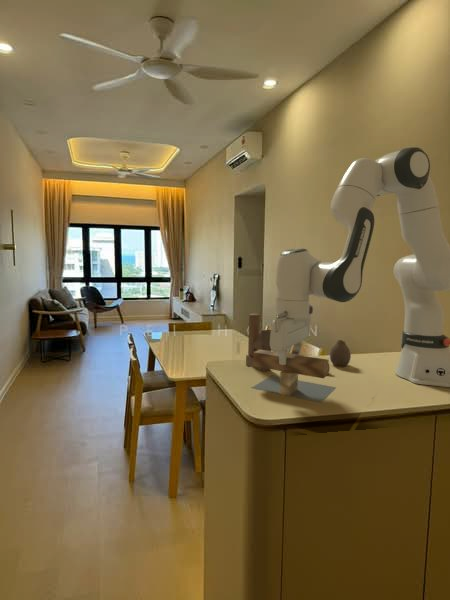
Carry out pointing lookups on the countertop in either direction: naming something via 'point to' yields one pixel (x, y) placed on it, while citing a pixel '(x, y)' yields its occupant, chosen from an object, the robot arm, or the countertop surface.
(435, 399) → the countertop surface
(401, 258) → the robot arm
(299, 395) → the slate mat
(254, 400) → the countertop surface
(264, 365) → the walnut bar
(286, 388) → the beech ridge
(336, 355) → the vase
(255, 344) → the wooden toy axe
